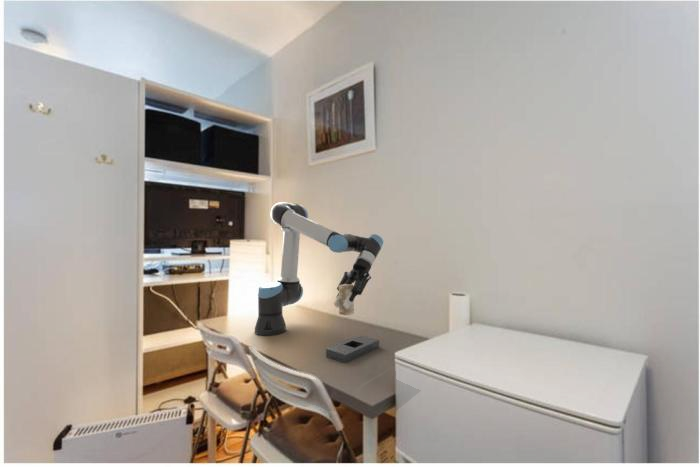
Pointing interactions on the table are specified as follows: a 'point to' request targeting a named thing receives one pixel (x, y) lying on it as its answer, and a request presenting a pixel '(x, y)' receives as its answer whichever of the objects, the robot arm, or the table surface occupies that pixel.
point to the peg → (343, 295)
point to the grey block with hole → (352, 348)
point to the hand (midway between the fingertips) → (340, 306)
